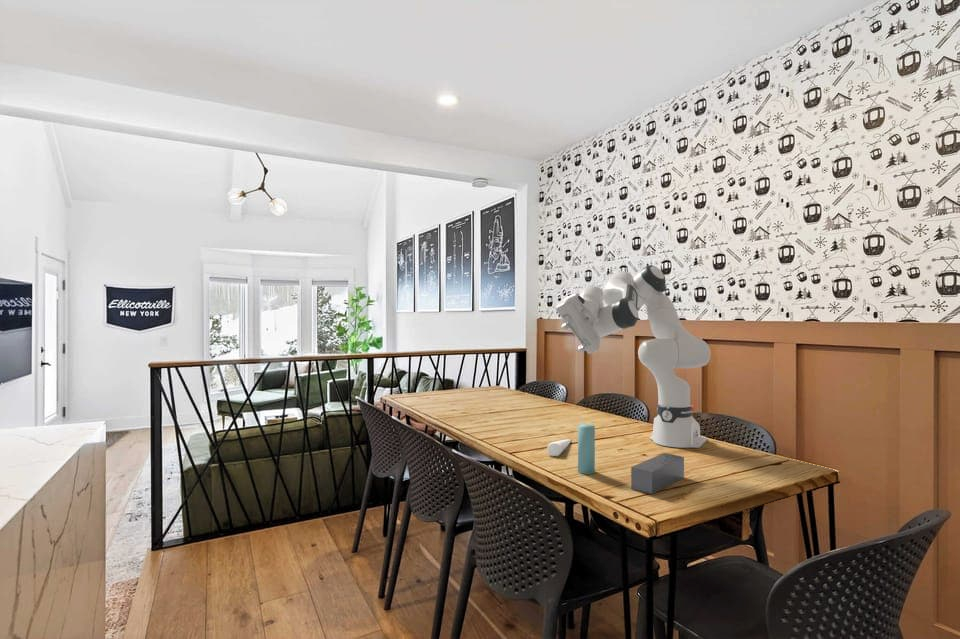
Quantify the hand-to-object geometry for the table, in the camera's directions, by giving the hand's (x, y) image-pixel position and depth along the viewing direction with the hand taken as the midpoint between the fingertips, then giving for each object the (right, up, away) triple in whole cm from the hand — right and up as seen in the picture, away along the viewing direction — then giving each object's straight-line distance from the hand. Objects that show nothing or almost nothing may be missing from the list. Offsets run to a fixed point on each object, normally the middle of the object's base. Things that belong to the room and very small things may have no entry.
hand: (573, 339), depth 155 cm
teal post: (+3, -40, -6) cm, 41 cm away
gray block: (+21, -40, -16) cm, 48 cm away
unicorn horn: (0, -41, +20) cm, 45 cm away
